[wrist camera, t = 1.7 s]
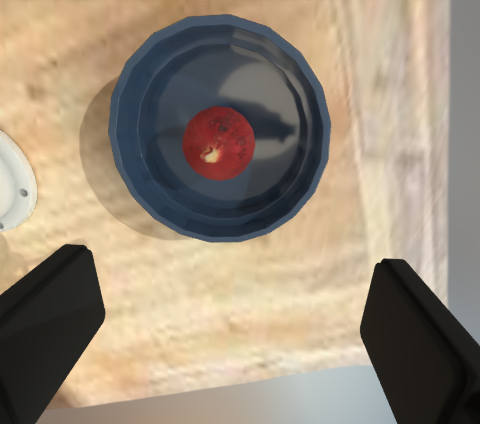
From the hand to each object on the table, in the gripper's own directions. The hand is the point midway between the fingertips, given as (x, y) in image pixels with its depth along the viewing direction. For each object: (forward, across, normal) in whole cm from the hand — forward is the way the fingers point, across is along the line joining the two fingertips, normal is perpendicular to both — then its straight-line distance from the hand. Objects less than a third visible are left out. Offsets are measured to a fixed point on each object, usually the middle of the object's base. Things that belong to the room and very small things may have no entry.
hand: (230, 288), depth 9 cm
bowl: (+19, +2, -2) cm, 20 cm away
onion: (+19, +2, -2) cm, 19 cm away
